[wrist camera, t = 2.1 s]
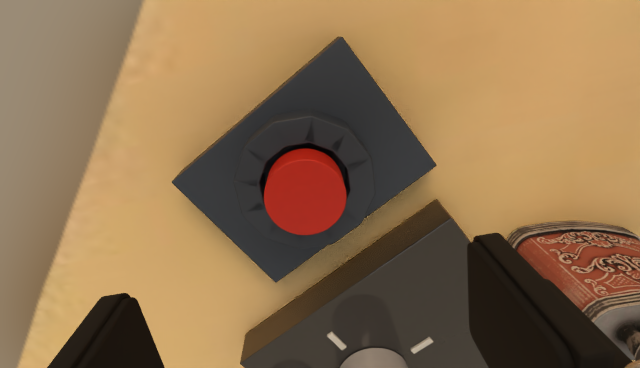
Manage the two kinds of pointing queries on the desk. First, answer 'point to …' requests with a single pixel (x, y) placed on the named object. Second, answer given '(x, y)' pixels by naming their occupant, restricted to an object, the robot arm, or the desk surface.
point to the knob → (374, 359)
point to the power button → (305, 192)
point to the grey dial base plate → (381, 305)
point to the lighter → (590, 272)
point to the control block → (314, 133)
